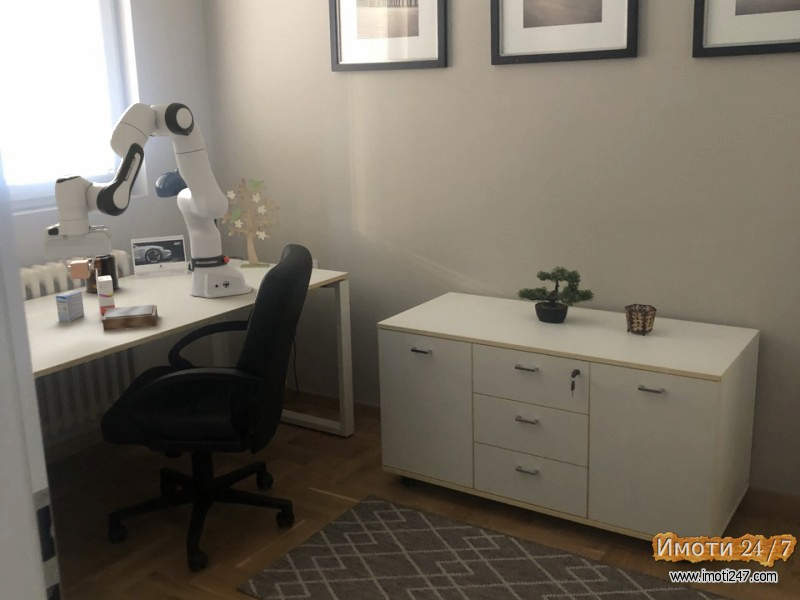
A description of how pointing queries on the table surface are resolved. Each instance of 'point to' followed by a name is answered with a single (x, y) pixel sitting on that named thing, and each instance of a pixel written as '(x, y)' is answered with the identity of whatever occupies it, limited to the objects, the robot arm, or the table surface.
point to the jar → (102, 271)
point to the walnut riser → (130, 317)
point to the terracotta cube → (79, 269)
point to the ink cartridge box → (105, 292)
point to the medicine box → (70, 306)
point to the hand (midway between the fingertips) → (80, 270)
